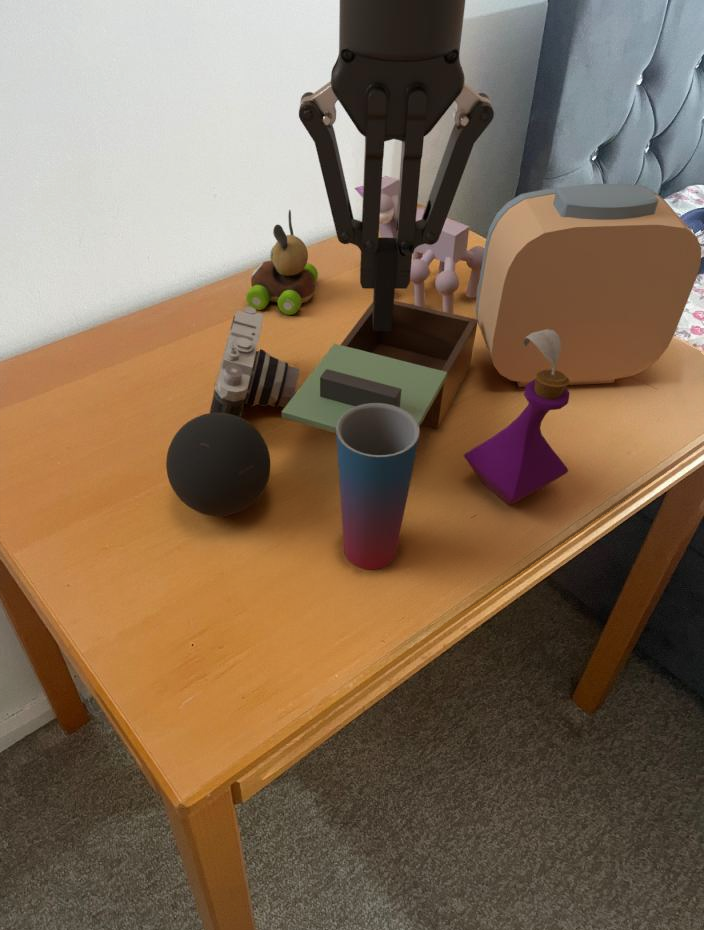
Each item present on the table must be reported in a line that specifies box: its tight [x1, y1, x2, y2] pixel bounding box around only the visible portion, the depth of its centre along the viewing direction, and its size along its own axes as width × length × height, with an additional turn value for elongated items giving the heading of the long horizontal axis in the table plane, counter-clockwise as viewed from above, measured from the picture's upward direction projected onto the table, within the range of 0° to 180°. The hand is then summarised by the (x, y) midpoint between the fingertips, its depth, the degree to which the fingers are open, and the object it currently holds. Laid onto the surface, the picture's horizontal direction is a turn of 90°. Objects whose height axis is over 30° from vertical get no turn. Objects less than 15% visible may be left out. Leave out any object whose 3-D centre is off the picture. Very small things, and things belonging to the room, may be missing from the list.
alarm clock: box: [475, 183, 702, 388], centre depth 85 cm, size 21×10×22 cm, turn 94°
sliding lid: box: [281, 343, 447, 434], centre depth 76 cm, size 13×13×3 cm
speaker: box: [165, 412, 271, 517], centre depth 73 cm, size 10×10×10 cm
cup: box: [335, 403, 421, 570], centre depth 67 cm, size 7×7×15 cm
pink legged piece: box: [354, 175, 485, 314], centre depth 100 cm, size 20×11×14 cm, turn 48°
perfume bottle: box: [463, 329, 570, 506], centre depth 71 cm, size 8×8×18 cm
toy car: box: [245, 209, 319, 316], centre depth 100 cm, size 9×9×11 cm
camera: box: [209, 305, 300, 418], centre depth 84 cm, size 16×9×10 cm, turn 176°
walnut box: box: [340, 300, 478, 429], centre depth 88 cm, size 13×13×7 cm
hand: (381, 321), depth 61 cm, fingers closed
